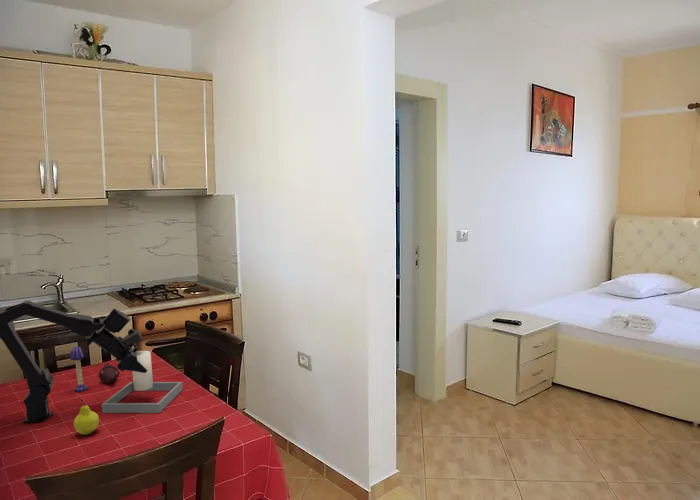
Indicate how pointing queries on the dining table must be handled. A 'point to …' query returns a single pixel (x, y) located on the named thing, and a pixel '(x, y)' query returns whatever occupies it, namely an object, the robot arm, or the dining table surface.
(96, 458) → the dining table surface
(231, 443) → the dining table surface
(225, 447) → the dining table surface
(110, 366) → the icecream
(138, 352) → the white pillar candle
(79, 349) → the toy lamp
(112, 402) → the frame
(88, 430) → the fruit
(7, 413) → the dining table surface
